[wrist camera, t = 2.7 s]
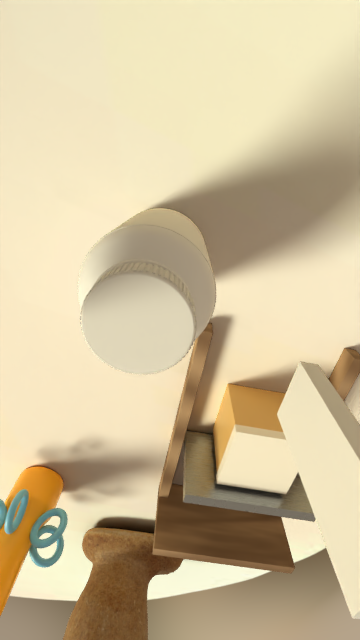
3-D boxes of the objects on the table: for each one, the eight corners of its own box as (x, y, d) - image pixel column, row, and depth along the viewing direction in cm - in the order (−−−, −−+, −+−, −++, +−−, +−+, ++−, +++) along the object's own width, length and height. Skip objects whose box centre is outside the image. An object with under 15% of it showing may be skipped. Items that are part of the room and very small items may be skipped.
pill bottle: (221, 228, 26) (257, 285, 12) (185, 306, 29) (181, 419, 16) (135, 189, 25) (70, 205, 11) (107, 275, 28) (31, 368, 14)
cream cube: (227, 382, 33) (236, 431, 27) (289, 393, 33) (313, 444, 27) (211, 429, 36) (216, 483, 30) (269, 438, 37) (285, 494, 30)
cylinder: (101, 483, 41) (58, 634, 27) (59, 515, 44) (2, 664, 31) (23, 437, 37) (-70, 584, 24) (-16, 476, 41) (-116, 624, 27)
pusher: (186, 430, 36) (185, 494, 29) (293, 447, 37) (318, 514, 29) (184, 437, 36) (182, 502, 29) (289, 454, 37) (314, 521, 30)
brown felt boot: (83, 556, 49) (44, 701, 36) (86, 513, 44) (41, 662, 30) (174, 568, 50) (169, 713, 36) (187, 526, 45) (187, 678, 31)
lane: (199, 321, 30) (203, 367, 23) (355, 350, 31) (406, 403, 23) (158, 487, 41) (152, 554, 34) (273, 505, 42) (291, 573, 35)
